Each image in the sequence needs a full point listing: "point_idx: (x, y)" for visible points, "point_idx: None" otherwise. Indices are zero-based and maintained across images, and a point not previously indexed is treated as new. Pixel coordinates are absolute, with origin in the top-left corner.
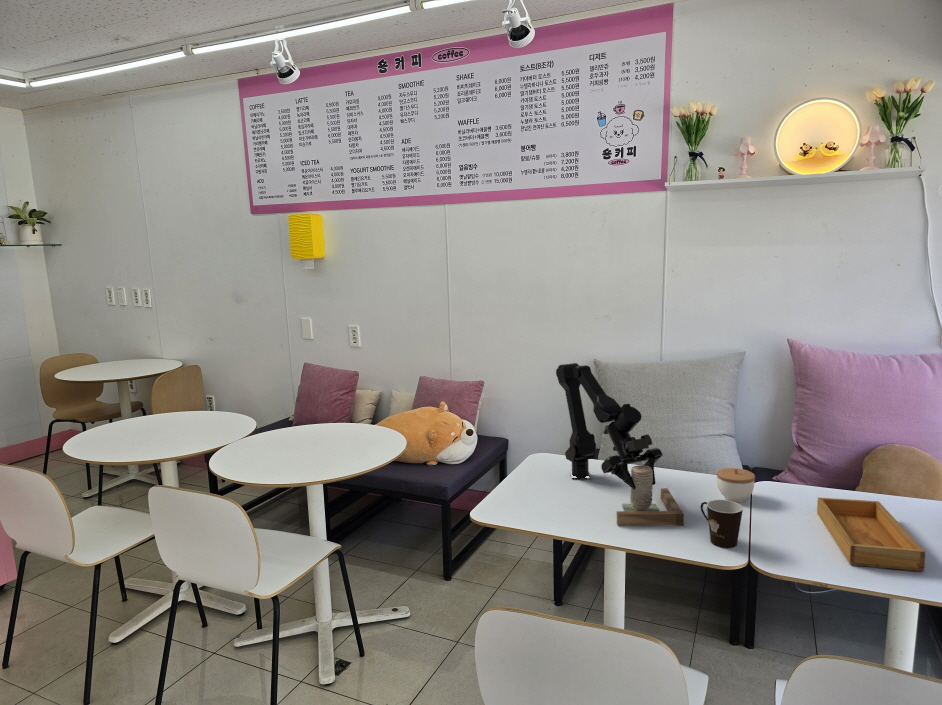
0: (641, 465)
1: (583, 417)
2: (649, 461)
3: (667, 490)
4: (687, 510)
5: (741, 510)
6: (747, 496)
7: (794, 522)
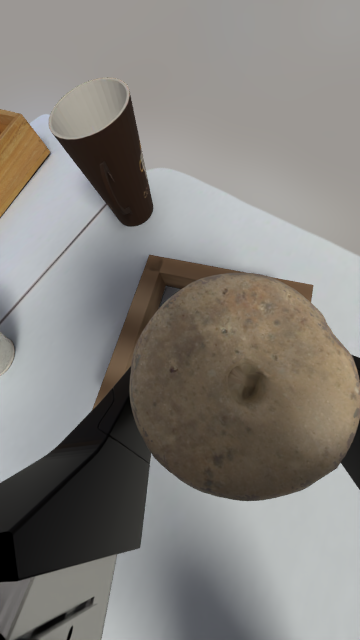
0: (197, 463)
1: None
2: (51, 507)
3: (99, 398)
4: (110, 329)
5: (72, 89)
6: None
7: (7, 249)
